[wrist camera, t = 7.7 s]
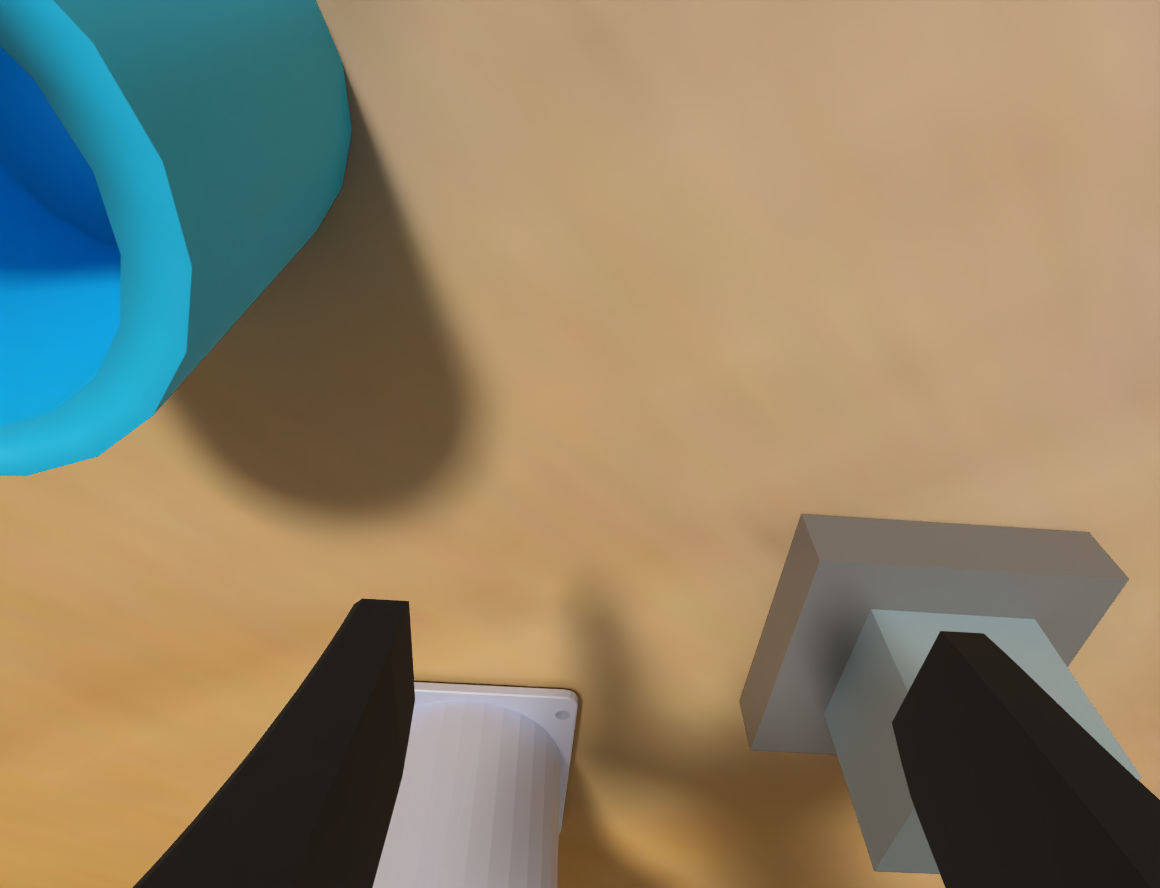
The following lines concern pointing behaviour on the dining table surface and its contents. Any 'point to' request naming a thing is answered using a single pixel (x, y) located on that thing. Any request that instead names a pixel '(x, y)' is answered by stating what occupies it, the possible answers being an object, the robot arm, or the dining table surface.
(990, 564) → the slate base
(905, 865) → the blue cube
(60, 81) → the mug
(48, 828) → the dining table surface
